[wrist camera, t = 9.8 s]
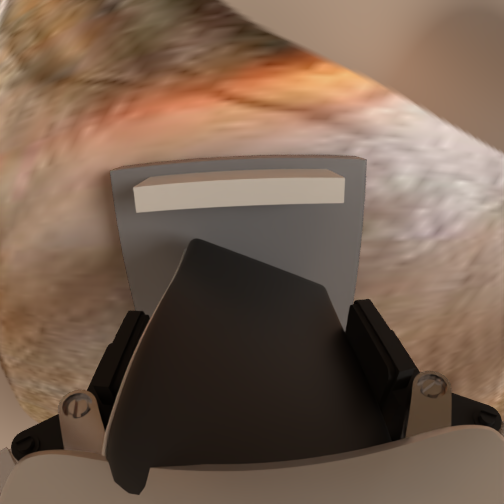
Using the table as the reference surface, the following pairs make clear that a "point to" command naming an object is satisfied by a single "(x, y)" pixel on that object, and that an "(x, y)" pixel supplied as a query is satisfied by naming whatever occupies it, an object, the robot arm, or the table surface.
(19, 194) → the table surface
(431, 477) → the robot arm
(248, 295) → the battery charger
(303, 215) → the charging dock
